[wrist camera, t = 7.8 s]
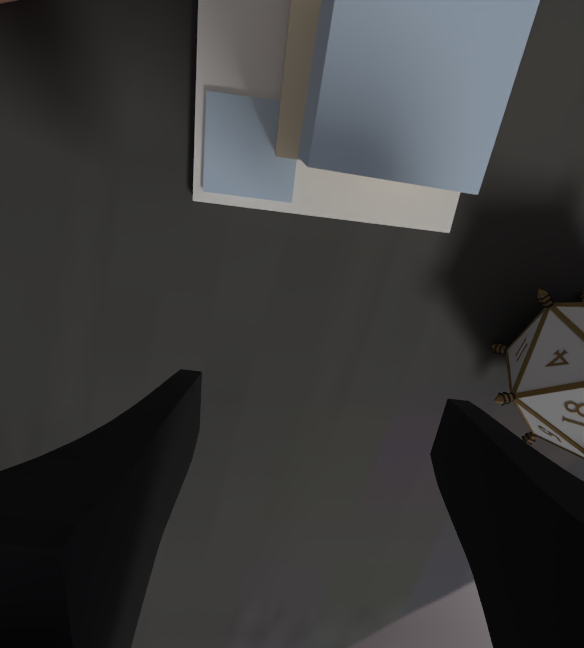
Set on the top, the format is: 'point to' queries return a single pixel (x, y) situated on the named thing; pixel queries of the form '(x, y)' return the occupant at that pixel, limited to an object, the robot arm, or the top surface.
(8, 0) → the terracotta block
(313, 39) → the maple base block
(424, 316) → the top surface
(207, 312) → the top surface
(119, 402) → the top surface
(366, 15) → the blue-grey block
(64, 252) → the top surface
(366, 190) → the mat
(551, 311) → the game die
